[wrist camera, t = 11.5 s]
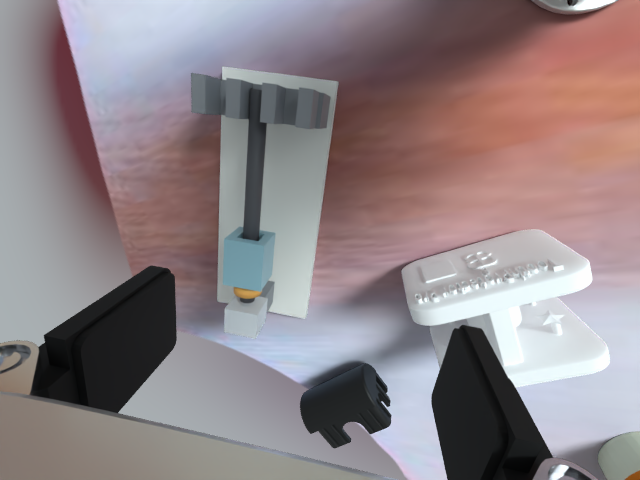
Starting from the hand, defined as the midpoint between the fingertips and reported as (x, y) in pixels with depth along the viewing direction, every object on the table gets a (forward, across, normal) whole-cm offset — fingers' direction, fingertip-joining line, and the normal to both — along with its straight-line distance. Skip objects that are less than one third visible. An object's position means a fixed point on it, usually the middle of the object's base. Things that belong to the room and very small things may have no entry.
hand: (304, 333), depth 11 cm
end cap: (+29, -4, +28) cm, 40 cm away
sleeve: (+23, +9, +8) cm, 26 cm away
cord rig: (+28, +9, +4) cm, 30 cm away
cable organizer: (+29, -16, +9) cm, 34 cm away
